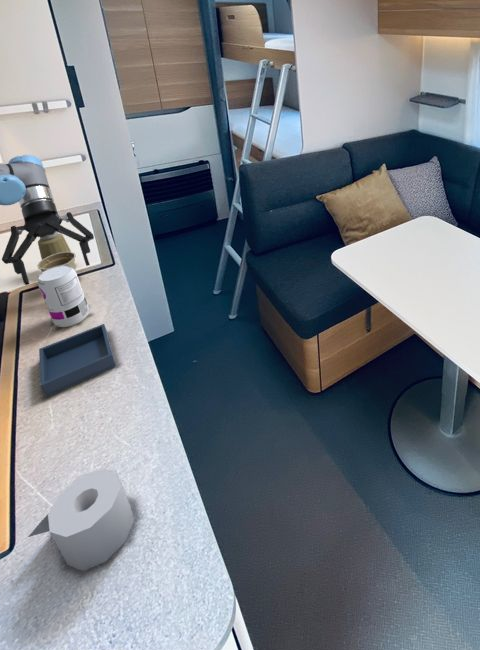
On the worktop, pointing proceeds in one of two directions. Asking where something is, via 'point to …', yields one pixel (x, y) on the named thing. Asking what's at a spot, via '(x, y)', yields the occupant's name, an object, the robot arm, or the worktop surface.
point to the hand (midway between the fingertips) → (58, 273)
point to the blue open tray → (75, 359)
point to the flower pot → (57, 261)
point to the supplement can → (63, 295)
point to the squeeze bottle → (52, 245)
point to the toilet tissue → (89, 519)
